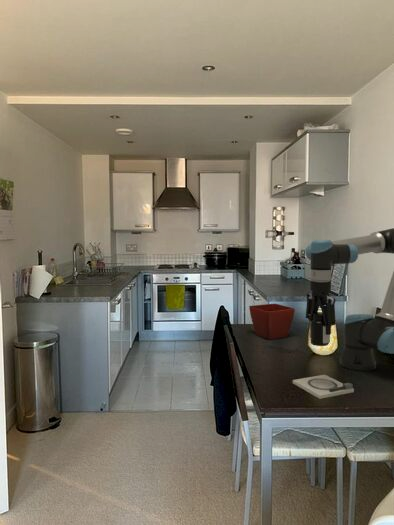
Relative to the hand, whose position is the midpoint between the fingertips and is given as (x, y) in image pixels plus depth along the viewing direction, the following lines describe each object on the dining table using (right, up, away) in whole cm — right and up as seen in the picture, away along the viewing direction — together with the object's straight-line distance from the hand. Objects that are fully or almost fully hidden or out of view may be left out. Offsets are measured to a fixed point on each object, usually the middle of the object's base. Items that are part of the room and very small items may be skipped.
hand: (319, 340), depth 151 cm
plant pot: (-5, -13, +76) cm, 77 cm away
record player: (+1, -19, +1) cm, 19 cm away
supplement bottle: (0, -2, 0) cm, 2 cm away
